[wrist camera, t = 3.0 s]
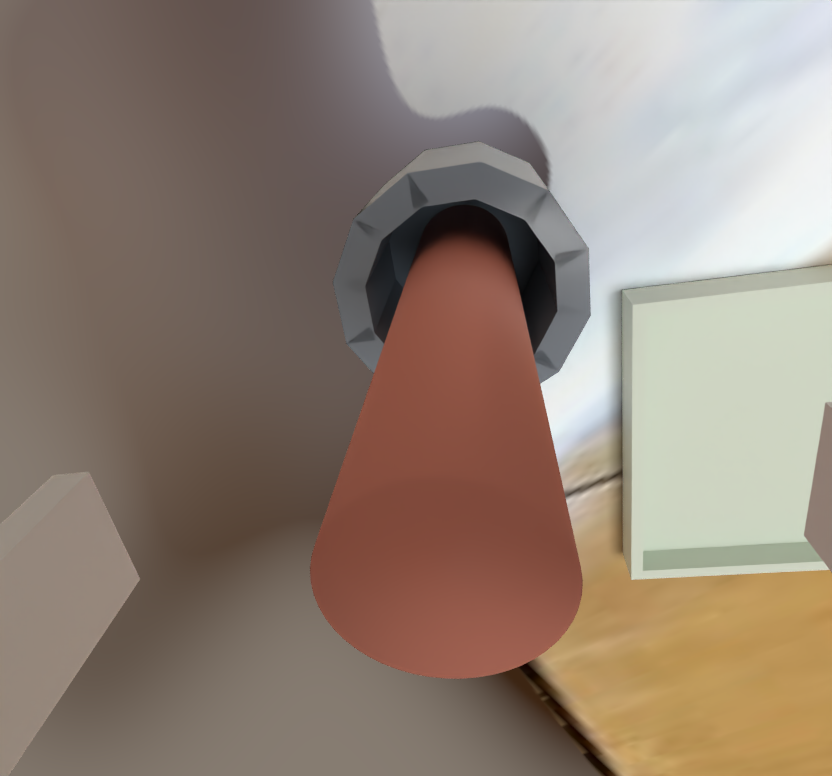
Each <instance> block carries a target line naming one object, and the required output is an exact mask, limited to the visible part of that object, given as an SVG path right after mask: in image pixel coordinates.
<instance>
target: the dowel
mask: <svg viewBox="0 0 832 776" xmlns="http://www.w3.org/2000/svg"><path fill="white" fill-rule="evenodd" d="M310 574H311V584H312V589H313V593H314V596H315V599H316V601H317V603H318V606H319V608H320V610H321V611H322V613H323V615H324V616H325V618H326V620H327V621H328V622H329V623H330V625H331V626H332V627H333V629H334V630H335V631H336V632H337V633H338V634H339V635H340V636H341V637H342V638H343V639H344V640H346V641H347V642H348V643H349V644H351V645H352V646H353V647H354V648H356V649H357V650H359V651H361V652H362V653H364V654H365V655H367V656H369V657H370V658H372V659H374V660H376V661H378V662H380V663H382V664H385V665H387V666H390V667H393V668H395V669H398V670H401V671H405V672H408V673H412V674H417V675H422V676H428V677H436V678H454V679H457V678H459V679H462V678H475V677H482V676H488V675H492V674H497V673H501V672H504V671H508V670H510V669H513V668H516V667H518V666H521V665H523V664H525V663H527V662H529V661H531V660H533V659H535V658H536V657H538V656H539V655H541V654H542V653H544V652H545V651H547V650H548V649H549V648H550V647H551V646H553V645H554V644H555V643H556V642H557V641H558V640H559V639H560V638H561V637H562V635H563V634H564V633H565V632H566V631H567V629H568V628H569V626H570V625H571V623H572V621H573V620H574V618H575V615H576V613H577V611H578V608H579V605H580V600H581V596H582V582H583V581H582V573H581V566H580V562H579V557H578V553H577V548H576V544H575V539H574V535H573V530H572V526H571V521H570V517H569V512H568V508H567V503H566V499H565V494H564V490H563V485H562V481H561V476H560V472H559V467H558V463H557V458H556V454H555V449H554V445H553V440H552V436H551V431H550V427H549V422H548V418H547V413H546V409H545V404H544V400H543V395H542V391H541V386H540V382H539V377H538V373H537V368H536V364H535V359H534V355H533V350H532V346H531V341H530V337H529V332H528V328H527V323H526V319H525V314H524V310H523V305H522V301H521V296H520V292H519V287H518V283H517V278H516V274H515V269H514V265H513V260H512V256H511V251H510V247H509V242H508V238H507V234H506V232H505V230H504V228H503V226H502V224H501V223H500V222H499V220H498V219H497V218H496V217H495V216H494V215H493V214H491V213H490V212H488V211H487V210H485V209H483V208H480V207H477V206H473V205H456V206H452V207H449V208H446V209H444V210H443V211H441V212H439V213H438V214H436V215H435V216H434V217H433V218H432V219H431V220H430V221H429V223H428V224H427V225H426V227H425V229H424V231H423V233H422V236H421V239H420V241H419V244H418V247H417V250H416V253H415V256H414V259H413V262H412V265H411V268H410V270H409V273H408V276H407V279H406V282H405V285H404V288H403V291H402V294H401V297H400V299H399V302H398V305H397V308H396V311H395V314H394V317H393V320H392V323H391V326H390V328H389V331H388V334H387V337H386V340H385V343H384V346H383V349H382V352H381V355H380V357H379V360H378V363H377V366H376V369H375V372H374V375H373V378H372V381H371V384H370V386H369V389H368V392H367V395H366V398H365V401H364V404H363V407H362V410H361V413H360V415H359V419H358V421H357V424H356V427H355V430H354V433H353V436H352V439H351V442H350V444H349V447H348V450H347V453H346V456H345V459H344V462H343V465H342V468H341V471H340V473H339V476H338V479H337V482H336V486H335V488H334V491H333V494H332V497H331V500H330V503H329V505H328V508H327V511H326V514H325V517H324V520H323V523H322V526H321V529H320V531H319V534H318V537H317V540H316V543H315V546H314V550H313V553H312V557H311V566H310Z"/></svg>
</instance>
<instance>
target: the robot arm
mask: <svg viewBox="0 0 832 776" xmlns="http://www.w3.org/2000/svg"><path fill="white" fill-rule="evenodd" d="M804 537H805V538H806V539H807V540H808V542H809V543H810V544H811V546H812V547H813V548H814V550H815V551H816V552H817V554H818V555H819V556H820V558H821V559H822V560H823V562H824V563H825V564H826V566H827V567H828V568H829V570H830V571H831V572H832V402H826V403H825V408H824V414H823V421H822V427H821V433H820V439H819V445H818V451H817V457H816V463H815V469H814V475H813V482H812V488H811V494H810V500H809V506H808V512H807V518H806V524H805V530H804ZM139 580H140V578H139V576H138V574H137V572H136V570H135V568H134V565H133V564H132V561H131V559H130V557H129V555H128V553H127V551H126V549H125V547H124V544H123V542H122V540H121V538H120V536H119V534H118V532H117V530H116V528H115V526H114V524H113V522H112V519H111V517H110V515H109V513H108V511H107V509H106V507H105V505H104V503H103V500H102V498H101V496H100V494H99V492H98V490H97V488H96V486H95V484H94V482H93V480H92V478H91V475H90V473H89V472H82V473H72V474H61V475H53V476H52V477H51V478H50V479H48V480H47V481H46V482H45V483H44V484H43V485H42V486H41V487H40V488H39V489H38V490H37V491H36V492H34V493H33V494H32V495H31V496H30V497H29V498H28V499H27V500H26V501H25V502H24V503H23V504H22V505H20V506H19V507H18V508H17V509H16V510H15V511H14V512H13V513H12V514H11V515H10V516H9V517H8V518H6V519H5V520H4V521H3V522H2V523H1V524H0V776H8V775H9V774H10V772H11V771H12V769H13V768H14V766H15V765H16V763H17V762H18V760H19V759H20V757H21V756H22V754H23V753H24V751H25V750H26V748H27V747H28V745H29V744H30V743H31V741H32V739H33V738H34V737H35V735H36V734H37V732H38V731H39V729H40V728H41V726H42V725H43V723H44V722H45V720H46V719H47V717H48V716H49V714H50V713H51V711H52V710H53V708H54V707H55V705H56V704H57V702H58V701H59V699H60V698H61V696H62V695H63V693H64V692H65V690H66V689H67V687H68V686H69V684H70V683H71V681H72V680H73V678H74V677H75V675H76V674H77V672H78V671H79V669H80V668H81V666H82V665H83V663H84V662H85V660H86V659H87V657H88V656H89V654H90V653H91V651H92V650H93V648H94V647H95V646H96V644H97V643H98V641H99V640H100V638H101V637H102V635H103V634H104V632H105V631H106V629H107V628H108V626H109V625H110V623H111V621H112V620H113V619H114V617H115V616H116V614H117V612H118V611H119V609H120V608H121V607H122V605H123V604H124V602H125V601H126V599H127V598H128V596H129V595H130V593H131V592H132V590H133V589H134V587H135V586H136V584H137V583H138V581H139Z"/></svg>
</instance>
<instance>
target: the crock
mask: <svg viewBox="0 0 832 776" xmlns="http://www.w3.org/2000/svg"><path fill="white" fill-rule="evenodd" d="M456 205H473V206H477V207H480V208H483V209H485V210H487V211H488V212H490V213H491V214H493V215H494V216H495V217H496V218H497V219H498V220H499V222H500V223H501V224H502V226H503V228H504V230H505V232H506V234H507V238H508V242H509V247H510V251H511V256H512V260H513V265H514V269H515V274H516V278H517V283H518V287H519V292H520V296H521V301H522V305H523V310H524V314H525V319H526V323H527V328H528V332H529V337H530V341H531V346H532V350H533V355H534V359H535V364H536V368H537V373H538V377H539V382H540V383H542V382H543V381H545V380H546V379H548V378H550V377H551V376H553V375H554V374H556V373H558V372H559V371H560V369H561V367H562V365H563V364H564V362H565V360H566V358H567V356H568V355H569V353H570V351H571V349H572V348H573V346H574V344H575V342H576V340H577V339H578V337H579V335H580V333H581V332H582V330H583V328H584V326H585V324H586V323H587V321H588V319H589V317H590V316H591V314H590V279H589V248H588V247H587V245H586V244H585V243H584V241H583V240H582V238H581V237H580V235H579V234H578V232H577V231H576V229H575V228H574V226H573V225H572V224H571V222H570V221H569V219H568V218H567V216H566V215H565V213H564V212H563V210H562V209H561V207H560V206H559V204H558V203H557V202H556V200H555V199H554V197H553V196H552V194H551V193H550V191H549V190H548V188H547V187H546V186H545V184H544V183H543V181H542V180H541V178H540V177H539V176H538V174H537V173H536V172H535V170H534V169H533V167H532V166H531V165H530V163H529V162H526V161H524V160H522V159H519V158H517V157H515V156H512V155H510V154H508V153H505V152H503V151H501V150H498V149H496V148H494V147H491V146H489V145H487V144H484V143H482V142H480V141H477V142H471V143H464V144H459V145H452V146H446V147H441V148H434V149H427V150H424V151H423V152H422V153H421V154H420V155H418V156H417V157H416V158H415V159H414V160H412V161H411V162H410V163H409V164H408V165H407V166H405V167H404V168H403V169H402V170H401V171H400V172H399V173H398V174H396V175H395V176H394V177H393V178H392V179H390V180H389V181H388V182H387V183H386V184H384V185H383V186H382V188H381V189H380V190H379V191H378V192H377V193H376V194H375V196H374V197H373V198H372V199H371V200H370V201H369V202H368V203H367V204H366V205H365V207H364V208H363V209H362V210H361V211H360V212H359V213H358V214H357V216H356V217H355V218H354V219H353V222H352V225H351V228H350V231H349V234H348V237H347V240H346V243H345V246H344V249H343V253H342V255H341V259H340V262H339V265H338V268H337V271H336V274H335V277H334V280H333V286H334V290H335V295H336V299H337V303H338V308H339V312H340V317H341V321H342V325H343V330H344V334H345V339H346V343H347V345H348V346H349V347H350V348H351V349H352V350H353V351H354V352H355V354H356V355H357V356H358V357H359V358H360V359H361V360H362V361H363V362H364V364H365V365H366V366H367V367H368V368H369V369H370V370H371V371H372V372H373V374H374V372H375V369H376V366H377V363H378V360H379V357H380V355H381V352H382V349H383V346H384V343H385V340H386V337H387V334H388V331H389V328H390V326H391V323H392V320H393V317H394V314H395V311H396V308H397V305H398V302H399V299H400V297H401V294H402V291H403V288H404V285H405V282H406V279H407V276H408V273H409V270H410V268H411V265H412V262H413V259H414V256H415V253H416V250H417V247H418V244H419V241H420V239H421V236H422V233H423V231H424V229H425V227H426V225H427V224H428V223H429V221H430V220H431V219H432V218H433V217H434V216H435V215H436V214H438V213H439V212H441V211H443V210H444V209H446V208H449V207H452V206H456Z"/></svg>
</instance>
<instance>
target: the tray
mask: <svg viewBox="0 0 832 776" xmlns="http://www.w3.org/2000/svg"><path fill="white" fill-rule="evenodd" d="M826 402H832V265H825V266H817V267H808V268H800V269H792V270H783V271H775V272H767V273H759V274H750V275H742V276H734V277H725V278H717V279H709V280H700V281H692V282H684V283H676V284H667V285H659V286H651V287H642V288H634V289H626V290H622V461H623V555H624V558H625V561H626V565H627V568H628V571H629V574H630V577H631V580H634V579H654V578H674V577H693V576H713V575H733V574H753V573H772V572H792V571H812V570H829V568H828V567H827V566H826V564H825V563H824V562H823V560H822V559H821V558H820V556H819V555H818V554H817V552H816V551H815V550H814V548H813V547H812V546H811V544H810V543H809V542H808V540H807V539H806V538H805V537H804V530H805V524H806V518H807V512H808V506H809V500H810V494H811V488H812V482H813V475H814V469H815V463H816V457H817V451H818V445H819V439H820V433H821V427H822V421H823V414H824V408H825V403H826Z"/></svg>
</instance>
